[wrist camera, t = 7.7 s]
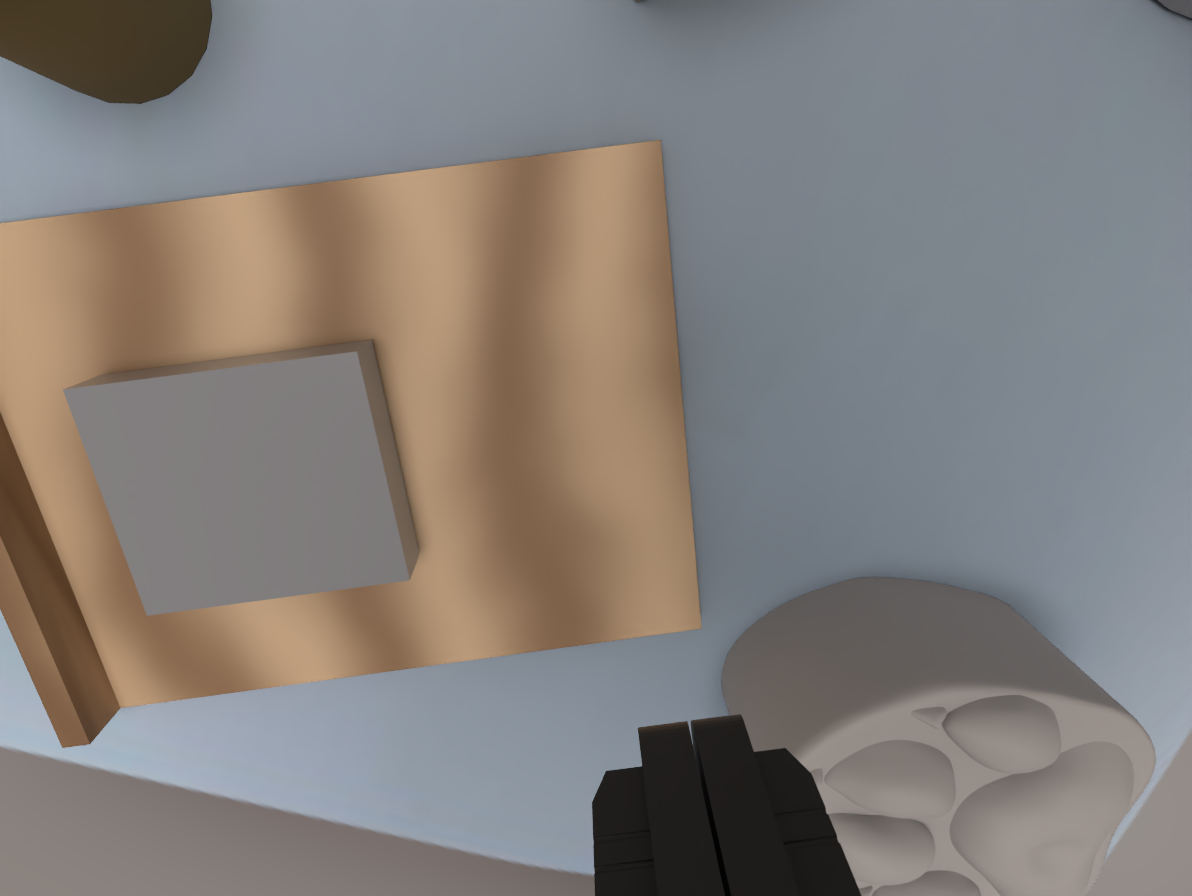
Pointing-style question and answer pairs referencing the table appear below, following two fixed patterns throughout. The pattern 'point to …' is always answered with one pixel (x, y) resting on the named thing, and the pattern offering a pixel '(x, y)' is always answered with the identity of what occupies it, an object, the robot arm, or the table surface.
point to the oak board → (415, 405)
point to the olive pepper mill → (108, 43)
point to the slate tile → (250, 476)
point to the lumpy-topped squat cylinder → (941, 738)
